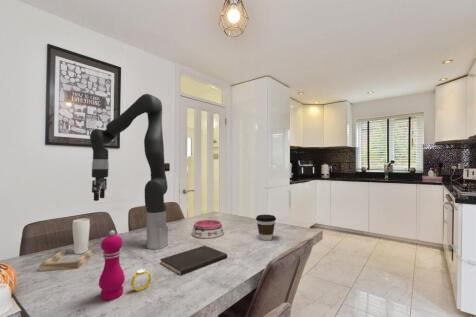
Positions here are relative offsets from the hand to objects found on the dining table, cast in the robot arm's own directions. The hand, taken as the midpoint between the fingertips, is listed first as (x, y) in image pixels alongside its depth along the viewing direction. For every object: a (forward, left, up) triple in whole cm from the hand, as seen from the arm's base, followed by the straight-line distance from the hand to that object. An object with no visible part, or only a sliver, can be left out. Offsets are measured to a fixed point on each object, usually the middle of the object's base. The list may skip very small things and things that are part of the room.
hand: (99, 199), depth 127 cm
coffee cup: (-80, -34, -23) cm, 90 cm away
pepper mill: (-47, +36, -23) cm, 64 cm away
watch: (-53, +30, -23) cm, 66 cm away
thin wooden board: (-8, +21, -23) cm, 32 cm away
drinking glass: (-3, +12, -23) cm, 26 cm away
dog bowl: (-46, -33, -23) cm, 61 cm away
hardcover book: (-58, +4, -24) cm, 63 cm away
